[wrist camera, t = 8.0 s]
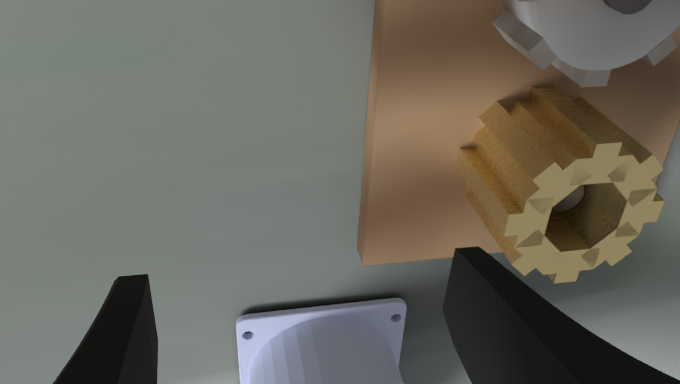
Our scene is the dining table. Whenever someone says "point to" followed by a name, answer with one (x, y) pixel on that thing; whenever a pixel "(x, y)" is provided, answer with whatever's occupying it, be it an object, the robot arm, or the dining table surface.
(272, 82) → the dining table surface
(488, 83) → the gear board
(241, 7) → the dining table surface
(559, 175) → the brass gear
